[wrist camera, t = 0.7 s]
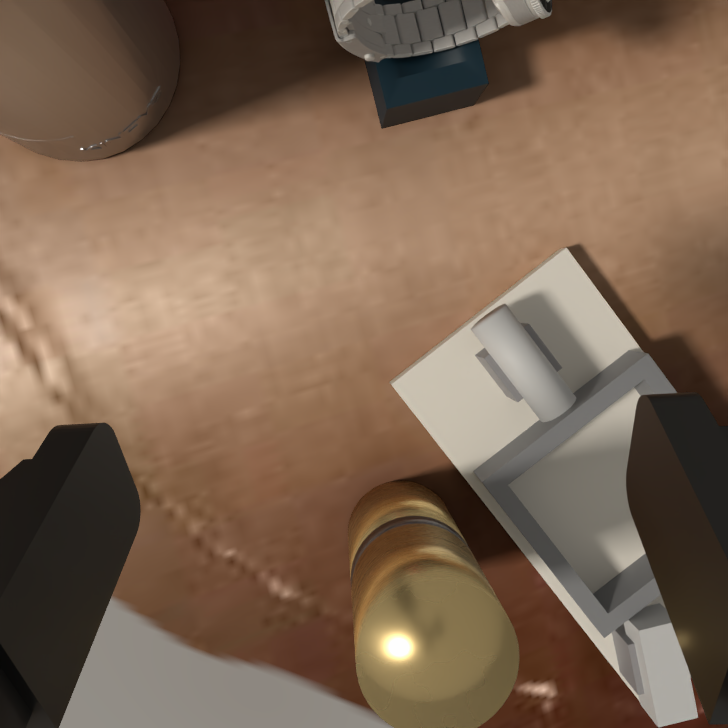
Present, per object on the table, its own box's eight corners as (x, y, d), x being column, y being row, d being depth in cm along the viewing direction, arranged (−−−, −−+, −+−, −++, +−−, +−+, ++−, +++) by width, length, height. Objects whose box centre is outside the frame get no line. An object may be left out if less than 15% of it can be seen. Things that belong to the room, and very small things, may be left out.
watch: (515, 94, 32) (610, -18, 21) (343, 138, 32) (349, 49, 21) (486, -31, 31) (568, -214, 20) (312, 13, 31) (300, -147, 20)
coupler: (326, 524, 33) (322, 648, 21) (409, 459, 33) (453, 547, 21) (391, 604, 33) (423, 770, 21) (473, 540, 33) (551, 671, 21)
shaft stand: (388, 382, 32) (396, 392, 29) (559, 249, 32) (589, 241, 28) (637, 699, 34) (675, 749, 30) (799, 574, 34) (859, 609, 30)
